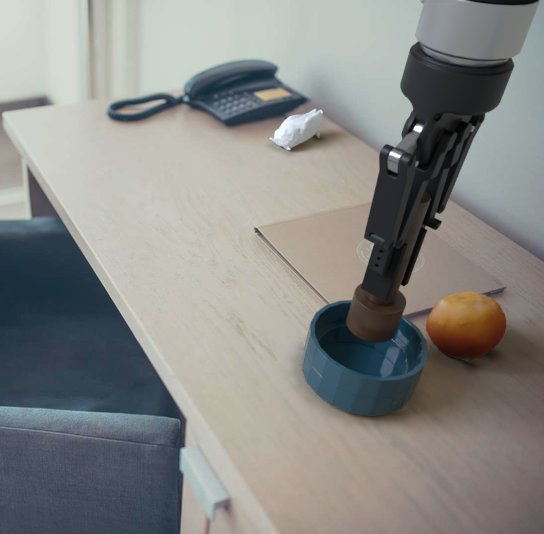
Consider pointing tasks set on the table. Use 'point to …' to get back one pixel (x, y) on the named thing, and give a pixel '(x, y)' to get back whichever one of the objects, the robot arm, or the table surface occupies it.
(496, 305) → the fruit
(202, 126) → the table surface
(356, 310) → the muddler
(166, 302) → the table surface
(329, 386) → the bowl
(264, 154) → the table surface
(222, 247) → the table surface
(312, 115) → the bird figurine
